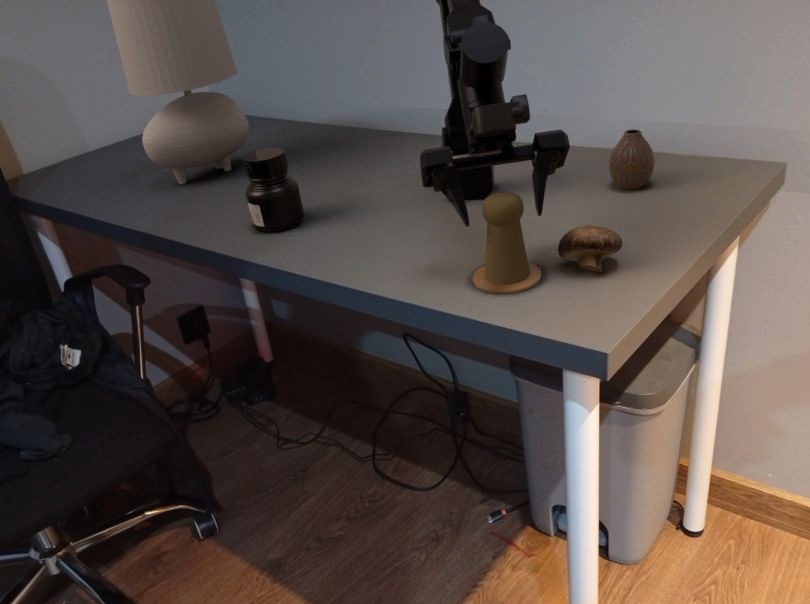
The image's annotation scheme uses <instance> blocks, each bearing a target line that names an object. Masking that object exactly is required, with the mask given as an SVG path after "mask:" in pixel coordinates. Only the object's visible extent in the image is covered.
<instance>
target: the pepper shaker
mask: <svg viewBox="0 0 810 604" xmlns="http://www.w3.org/2000/svg"><path fill="white" fill-rule="evenodd" d="M524 208H525V207H524V203H523V199H522V198H521V196H520V195H519V194H517V193H514V192H512V191H499V192H498V191H497V192H495V193H492V194H491V193H490V196H488V197H487V198H484V200H483V202H482V206H481V212H482V216H483V219H484V220H485V221H486V222H487V225H486V239H485V255H484V266H485V270H484V277H485V279H486V280H487V281H488V282H490V283H493V284H498V285H509V284H515V283H519V282H521V281H524V280H525V279H527V278H528V277H529V275H530V270H529V265H528V262H529V260H528V255H527V250H526V245H525V240H524V235H523V229H522V224H521V218H522V216H523V215H524V211H525V210H524Z"/></svg>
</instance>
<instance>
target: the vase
mask: <svg viewBox="0 0 810 604" xmlns="http://www.w3.org/2000/svg"><path fill="white" fill-rule="evenodd" d="M655 162H656V161H655V154H654V150H653V147H652V146H651V145H650V143H649V142H648V140H646V139H645V137H644V135H643V133H642V130H640V129H636V128H631V129H627V130H625V131H624V132H623V134H622V136H621V138H620V140H619V141H617V143H616V145H614V147H613V148H612V151H611V153H610V157H609V162H608V163H609V164H608V165H609V166H608V167H609V168H608V169H609V174H610V178H611V180H612V181H613V183H614V184H615V185H616V186H617V187H618V188H620V189H622V190H623V189H624V190H637V189H640V188H643V187H644V186H645V185H646V184H647V183H648V182H649V181H650V180H651V178H652V176H653V173H654V170H655Z"/></svg>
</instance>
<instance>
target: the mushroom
mask: <svg viewBox="0 0 810 604" xmlns="http://www.w3.org/2000/svg"><path fill="white" fill-rule="evenodd" d="M622 247H623V239H622V237H621V236H620V235H619V233H617V232H616V231H615V230H613V229H611V228H608V227H605V226H600V225H591V224H587V225H586V224H585V225H579V226H577V227H574V228H572V229H570V230H569V231H568V232H567V233H565V234H564V235H563V236H562V237H561V239H560V240H559V243H558V247H557V253H558V256H559V257H560V258H561V259H563V260H566V261H574V262H576V263H577V264H578V267H580V268H582V269H585V270H587V271H592V272H597V273H601V272H603V269H602V263H603V260H604V259H606V258H607V257H609V256H611V255H614V254H616V253H617V252H619V251H620V250H621V248H622Z"/></svg>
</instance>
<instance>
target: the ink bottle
mask: <svg viewBox="0 0 810 604" xmlns="http://www.w3.org/2000/svg"><path fill="white" fill-rule="evenodd" d="M242 160H243V164H244V169H245V172H246V176H247V179H248V181H249V184H248V185H247V187H246V189H245V198H246V202H247V205H248V209H249V213H250V217H251V220H252V221H251V222H252V224H253V227H254V229H255V230H256V231H259V232H263V233H265V232H266V233H270V232H280V231H285V230H288V229H291V228H295V227H296V226H298V225H299V224H301V223H302V221H303V220H304V219H305V212H304V207H303V201H302V197H301V193H300V188H299V183H298V181H297V179H295V178H294V177H293V176H291V175H290V174H289V166H288V161H287V157H286V152H285V149H283V148H279V147H268V148H261V149H257V150H254V151H252V152H249V153H247V154H245V155H244V156H243V159H242Z"/></svg>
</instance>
